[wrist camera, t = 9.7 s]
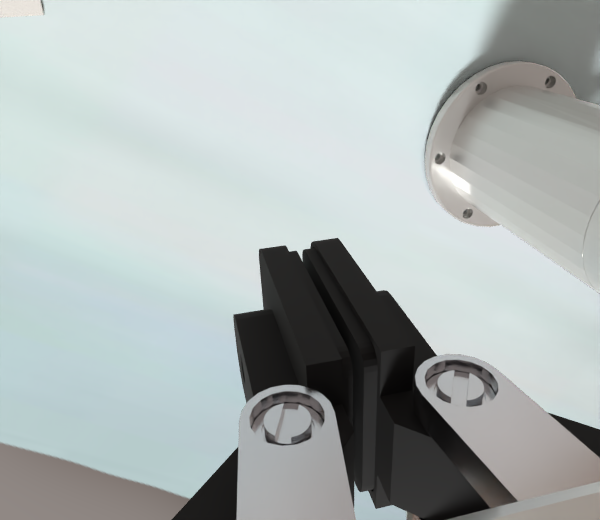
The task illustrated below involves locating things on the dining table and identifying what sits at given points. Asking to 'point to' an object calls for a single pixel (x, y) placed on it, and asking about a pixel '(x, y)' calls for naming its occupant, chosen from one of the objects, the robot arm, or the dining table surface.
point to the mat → (20, 8)
